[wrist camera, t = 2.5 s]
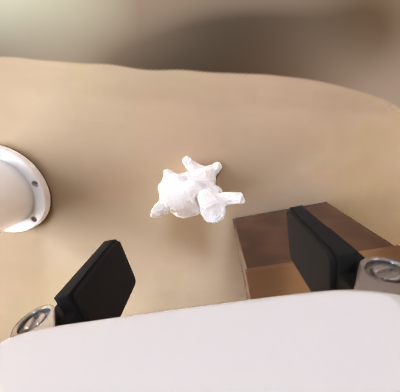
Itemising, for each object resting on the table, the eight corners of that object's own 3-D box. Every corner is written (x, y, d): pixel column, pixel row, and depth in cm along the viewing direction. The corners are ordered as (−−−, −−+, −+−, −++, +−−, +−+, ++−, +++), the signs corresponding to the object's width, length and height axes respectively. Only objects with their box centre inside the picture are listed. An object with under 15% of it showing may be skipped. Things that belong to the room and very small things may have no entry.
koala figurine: (226, 146, 25) (242, 164, 14) (233, 195, 27) (251, 245, 16) (162, 158, 26) (127, 184, 15) (173, 205, 28) (151, 259, 17)
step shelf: (251, 326, 36) (269, 408, 25) (231, 218, 28) (245, 271, 18) (328, 316, 34) (380, 399, 24) (327, 200, 27) (402, 247, 17)
